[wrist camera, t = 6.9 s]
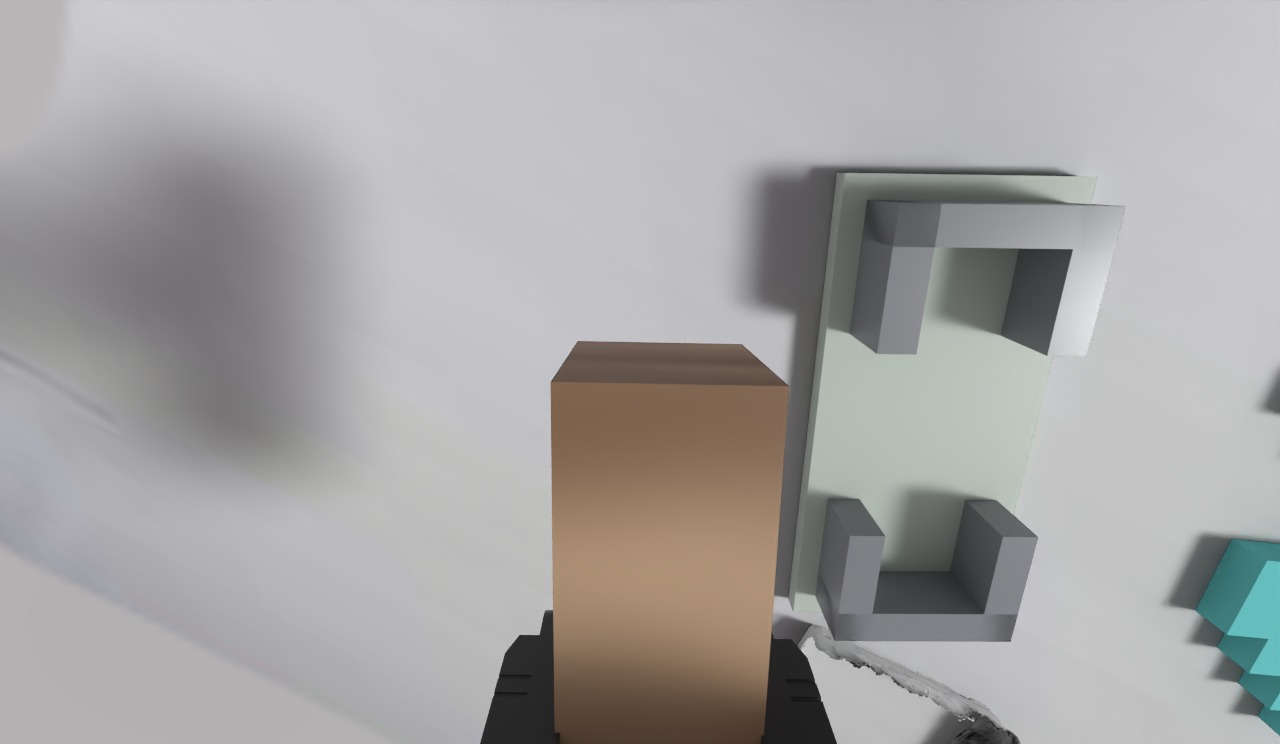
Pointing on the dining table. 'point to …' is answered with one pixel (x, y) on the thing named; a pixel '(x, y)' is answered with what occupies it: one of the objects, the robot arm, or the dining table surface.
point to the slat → (664, 541)
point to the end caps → (890, 324)
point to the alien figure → (1250, 618)
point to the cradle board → (921, 386)
